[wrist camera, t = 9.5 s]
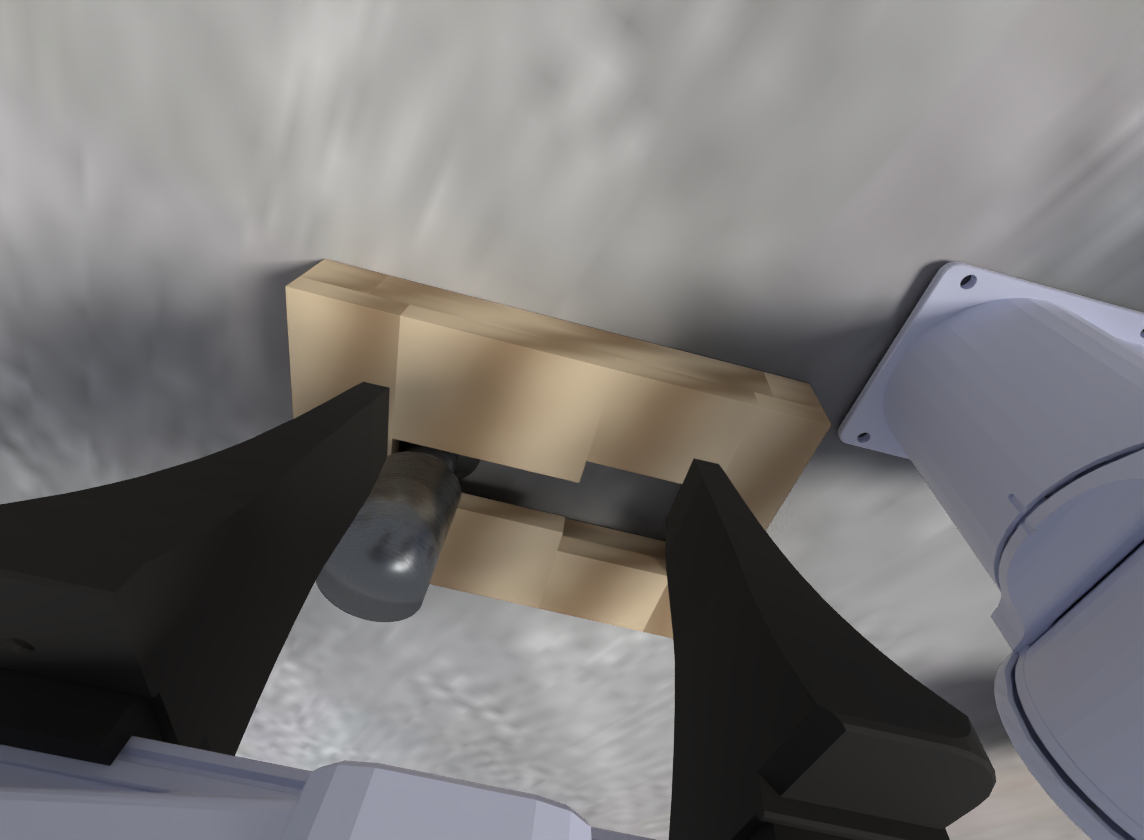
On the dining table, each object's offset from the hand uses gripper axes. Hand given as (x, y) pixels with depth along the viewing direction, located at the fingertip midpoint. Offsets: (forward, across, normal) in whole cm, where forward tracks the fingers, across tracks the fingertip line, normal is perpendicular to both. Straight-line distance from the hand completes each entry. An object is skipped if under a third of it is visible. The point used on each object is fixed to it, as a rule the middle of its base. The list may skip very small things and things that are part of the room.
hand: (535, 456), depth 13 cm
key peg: (+10, +4, +8) cm, 14 cm away
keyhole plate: (+10, 0, +8) cm, 13 cm away
